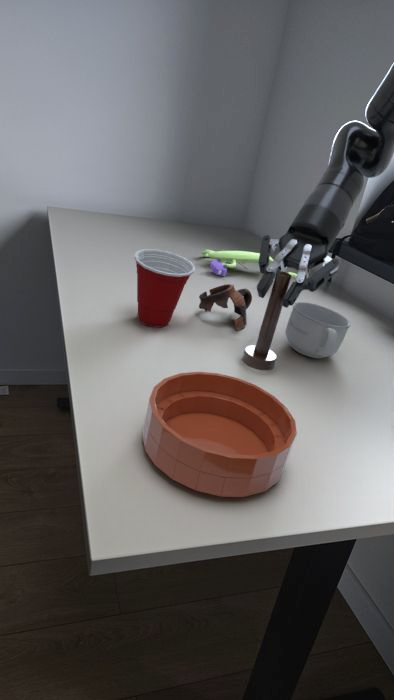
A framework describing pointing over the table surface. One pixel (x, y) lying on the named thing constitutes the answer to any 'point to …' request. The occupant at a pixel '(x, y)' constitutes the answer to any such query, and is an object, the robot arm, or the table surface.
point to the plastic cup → (160, 284)
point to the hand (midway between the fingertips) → (272, 299)
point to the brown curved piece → (221, 297)
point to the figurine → (232, 260)
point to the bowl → (218, 433)
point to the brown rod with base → (268, 326)
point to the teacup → (315, 330)
